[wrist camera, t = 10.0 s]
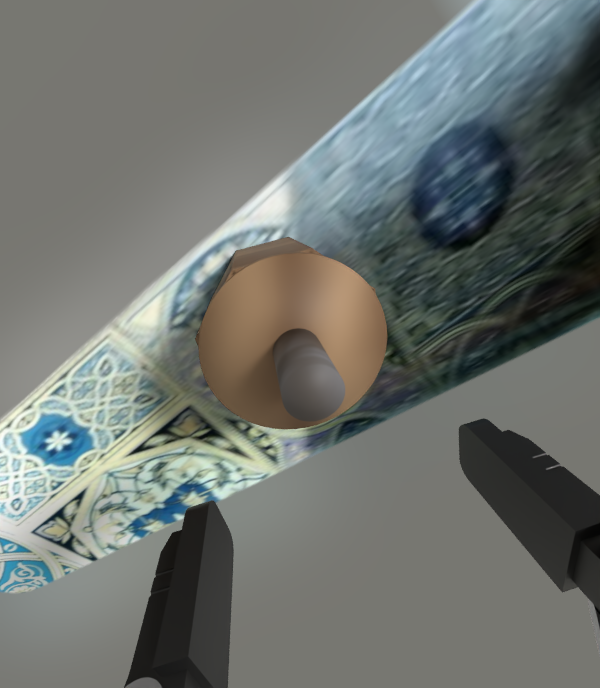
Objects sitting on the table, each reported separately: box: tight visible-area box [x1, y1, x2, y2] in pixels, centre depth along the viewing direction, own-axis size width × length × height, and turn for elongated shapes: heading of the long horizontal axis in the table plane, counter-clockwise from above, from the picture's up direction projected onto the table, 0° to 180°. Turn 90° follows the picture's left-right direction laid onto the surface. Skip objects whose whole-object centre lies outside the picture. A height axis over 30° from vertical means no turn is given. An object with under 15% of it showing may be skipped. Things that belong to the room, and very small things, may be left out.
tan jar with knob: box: [195, 237, 387, 429], centre depth 22 cm, size 12×12×16 cm
